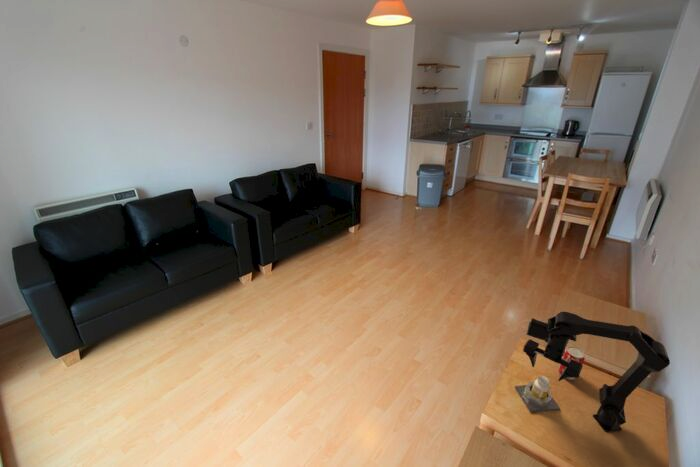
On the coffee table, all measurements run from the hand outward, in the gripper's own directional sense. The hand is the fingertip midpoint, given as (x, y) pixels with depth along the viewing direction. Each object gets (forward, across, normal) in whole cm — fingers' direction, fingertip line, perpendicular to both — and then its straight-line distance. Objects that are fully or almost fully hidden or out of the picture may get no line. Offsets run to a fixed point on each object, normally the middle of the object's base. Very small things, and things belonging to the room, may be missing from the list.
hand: (545, 373), depth 127 cm
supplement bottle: (+12, 0, +2) cm, 12 cm away
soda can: (+13, -6, -20) cm, 24 cm away
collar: (+12, 0, +2) cm, 13 cm away
